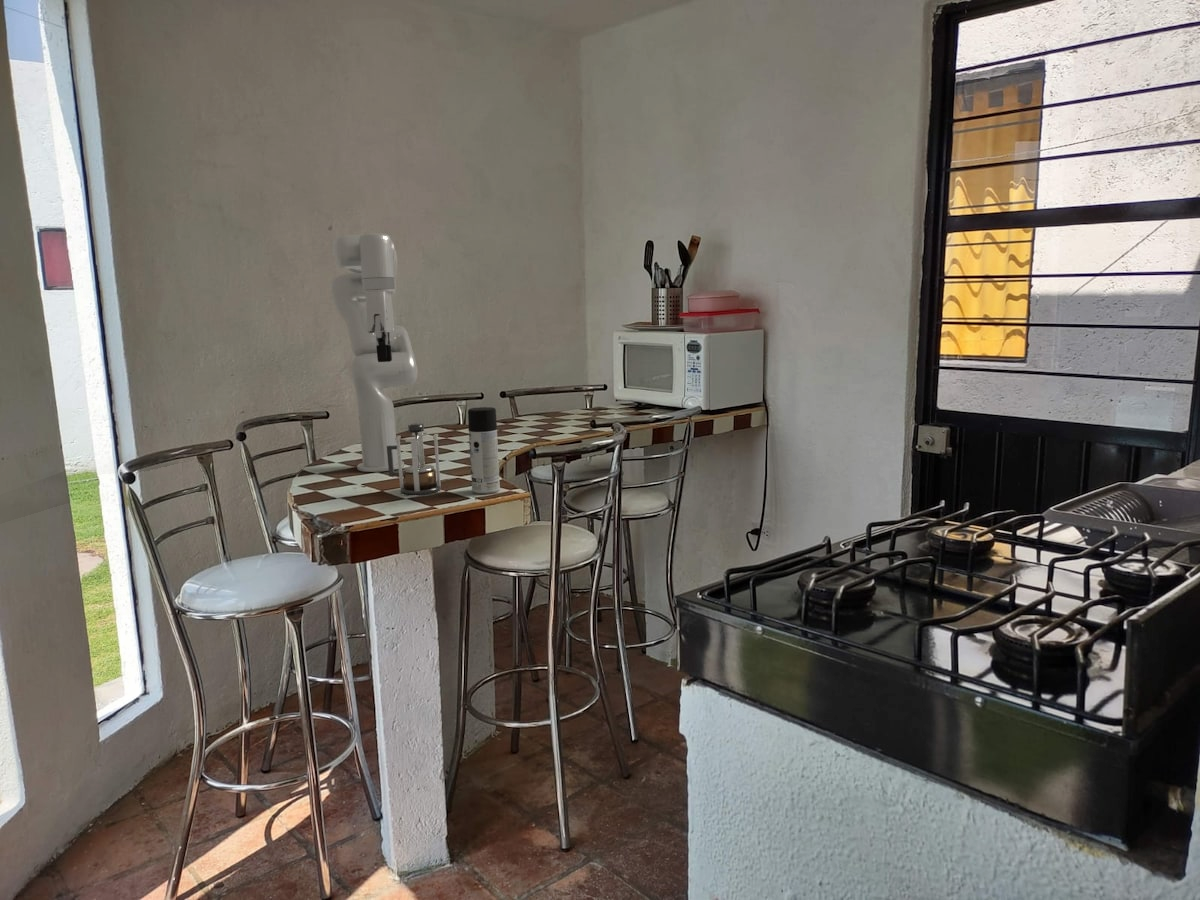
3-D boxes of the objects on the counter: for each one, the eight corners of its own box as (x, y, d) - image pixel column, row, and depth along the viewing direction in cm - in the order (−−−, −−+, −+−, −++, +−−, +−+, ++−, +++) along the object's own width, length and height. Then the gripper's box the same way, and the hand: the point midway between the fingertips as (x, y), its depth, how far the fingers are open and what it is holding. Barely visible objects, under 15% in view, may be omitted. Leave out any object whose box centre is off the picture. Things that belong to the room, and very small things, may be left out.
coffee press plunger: (406, 467, 214) (403, 422, 212) (436, 466, 214) (433, 421, 212) (401, 474, 207) (397, 427, 204) (431, 472, 207) (428, 426, 205)
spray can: (474, 488, 212) (469, 407, 208) (502, 487, 212) (497, 406, 208) (469, 494, 205) (464, 411, 202) (498, 494, 205) (493, 410, 201)
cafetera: (394, 487, 216) (390, 433, 213) (443, 485, 216) (439, 431, 214) (387, 496, 206) (382, 440, 204) (437, 494, 207) (433, 438, 204)
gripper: (369, 286, 218) (376, 359, 221) (356, 286, 203) (362, 364, 206) (400, 285, 218) (405, 358, 221) (388, 285, 203) (394, 363, 207)
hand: (384, 361), depth 214 cm, fingers closed
